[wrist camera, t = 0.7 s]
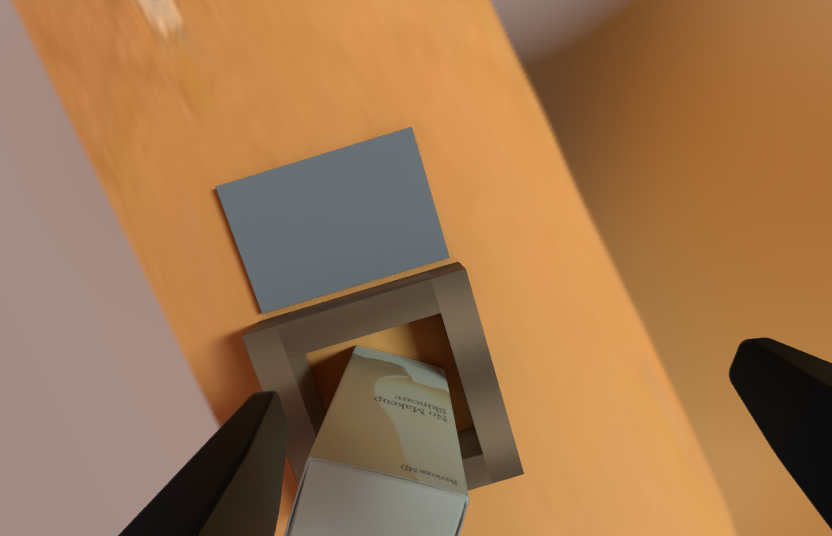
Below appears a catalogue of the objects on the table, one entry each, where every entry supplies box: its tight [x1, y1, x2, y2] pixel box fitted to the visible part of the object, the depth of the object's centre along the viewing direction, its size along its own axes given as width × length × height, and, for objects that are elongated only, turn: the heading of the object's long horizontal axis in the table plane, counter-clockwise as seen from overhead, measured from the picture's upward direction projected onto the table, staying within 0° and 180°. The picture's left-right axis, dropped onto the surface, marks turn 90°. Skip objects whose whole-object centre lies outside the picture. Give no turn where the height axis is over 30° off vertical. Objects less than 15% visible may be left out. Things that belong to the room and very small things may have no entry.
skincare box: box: [284, 346, 469, 536], centre depth 21 cm, size 6×4×12 cm
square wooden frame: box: [242, 262, 524, 490], centre depth 25 cm, size 13×13×3 cm
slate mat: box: [216, 127, 450, 314], centre depth 25 cm, size 8×12×1 cm, turn 107°
